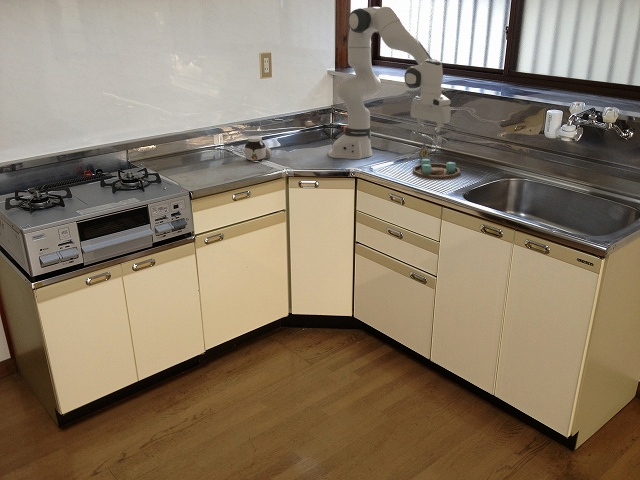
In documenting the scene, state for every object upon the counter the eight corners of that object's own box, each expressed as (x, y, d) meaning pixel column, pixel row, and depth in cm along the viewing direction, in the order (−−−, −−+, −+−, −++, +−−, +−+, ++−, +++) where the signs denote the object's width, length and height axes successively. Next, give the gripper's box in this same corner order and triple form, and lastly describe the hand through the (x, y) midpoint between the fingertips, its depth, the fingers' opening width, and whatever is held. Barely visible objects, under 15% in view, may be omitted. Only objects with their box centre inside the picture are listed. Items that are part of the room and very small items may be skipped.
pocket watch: (435, 165, 300) (437, 144, 296) (418, 164, 301) (419, 143, 297) (436, 160, 307) (437, 140, 303) (419, 159, 309) (420, 139, 305)
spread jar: (243, 161, 309) (241, 138, 304) (253, 156, 319) (252, 133, 314) (265, 163, 305) (264, 140, 300) (274, 157, 315) (273, 135, 310)
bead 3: (446, 173, 283) (447, 164, 281) (445, 171, 287) (446, 161, 285) (455, 174, 282) (456, 164, 281) (454, 171, 286) (455, 162, 284)
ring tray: (413, 180, 277) (413, 175, 276) (412, 167, 296) (412, 162, 295) (461, 181, 275) (461, 176, 274) (457, 168, 294) (457, 163, 293)
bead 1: (425, 171, 287) (426, 161, 286) (419, 169, 290) (419, 159, 288) (431, 169, 290) (432, 160, 288) (425, 167, 292) (425, 158, 291)
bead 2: (432, 175, 281) (433, 165, 279) (426, 176, 279) (427, 167, 277) (426, 173, 284) (426, 163, 282) (420, 175, 282) (420, 165, 280)
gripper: (408, 96, 274) (406, 127, 279) (443, 102, 259) (441, 135, 265) (417, 94, 278) (416, 125, 283) (453, 100, 263) (451, 133, 268)
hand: (428, 130), depth 274 cm, fingers open, 8 cm apart
